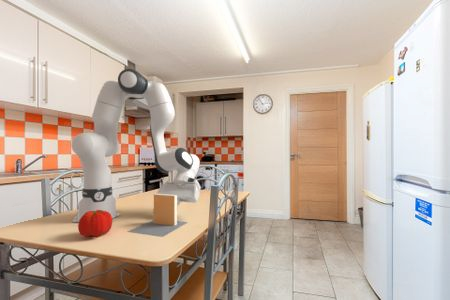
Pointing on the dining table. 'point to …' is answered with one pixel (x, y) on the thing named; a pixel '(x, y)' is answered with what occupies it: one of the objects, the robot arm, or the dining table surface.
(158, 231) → the mat
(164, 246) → the dining table surface
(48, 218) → the dining table surface
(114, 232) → the dining table surface
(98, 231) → the tomato
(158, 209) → the tile
